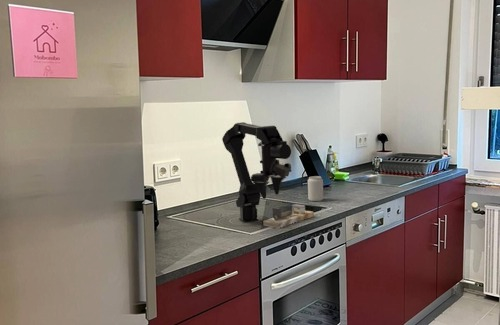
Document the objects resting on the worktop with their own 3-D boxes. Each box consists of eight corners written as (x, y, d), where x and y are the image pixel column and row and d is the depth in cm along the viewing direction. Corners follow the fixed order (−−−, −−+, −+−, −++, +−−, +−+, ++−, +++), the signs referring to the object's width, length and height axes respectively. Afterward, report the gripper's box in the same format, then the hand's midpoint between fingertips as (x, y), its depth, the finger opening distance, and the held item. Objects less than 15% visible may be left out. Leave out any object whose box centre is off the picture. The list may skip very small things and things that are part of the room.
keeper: (300, 214, 207) (300, 206, 207) (291, 213, 210) (291, 205, 210) (305, 213, 209) (304, 205, 209) (296, 211, 212) (295, 204, 212)
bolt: (278, 220, 197) (278, 208, 197) (272, 219, 199) (272, 208, 199) (293, 215, 205) (293, 204, 204) (287, 214, 207) (287, 203, 206)
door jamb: (278, 228, 194) (278, 223, 193) (263, 225, 199) (263, 220, 199) (313, 216, 211) (313, 211, 211) (298, 214, 217) (298, 209, 216)
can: (325, 199, 247) (325, 175, 245) (319, 202, 240) (319, 178, 239) (311, 198, 251) (311, 175, 249) (305, 201, 244) (305, 177, 243)
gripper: (273, 160, 182) (275, 202, 183) (298, 155, 197) (299, 193, 199) (249, 160, 188) (251, 200, 190) (275, 154, 203) (276, 192, 205)
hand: (270, 196), depth 196 cm, fingers open, 9 cm apart
